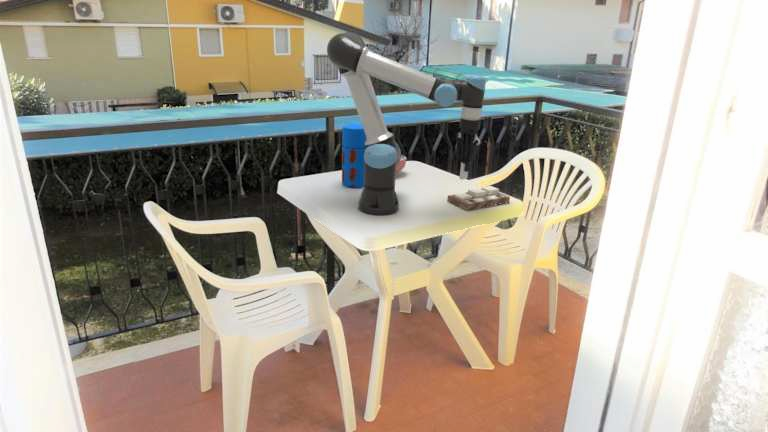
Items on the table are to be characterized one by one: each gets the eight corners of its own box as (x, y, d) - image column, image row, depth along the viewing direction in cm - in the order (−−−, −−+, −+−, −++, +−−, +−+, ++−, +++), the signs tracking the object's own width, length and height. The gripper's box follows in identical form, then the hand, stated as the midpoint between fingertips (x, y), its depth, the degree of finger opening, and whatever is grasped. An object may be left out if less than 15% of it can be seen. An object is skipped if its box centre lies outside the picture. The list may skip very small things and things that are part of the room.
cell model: (410, 178, 238) (412, 154, 234) (368, 180, 233) (368, 155, 229) (399, 168, 253) (400, 145, 249) (358, 170, 248) (359, 146, 244)
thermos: (364, 189, 221) (365, 130, 212) (339, 187, 222) (339, 128, 213) (369, 182, 231) (370, 125, 222) (345, 179, 232) (345, 123, 223)
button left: (461, 204, 205) (462, 198, 204) (453, 200, 209) (454, 194, 208) (471, 202, 208) (472, 196, 207) (463, 198, 212) (464, 192, 211)
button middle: (475, 199, 208) (476, 193, 208) (467, 195, 212) (468, 189, 212) (485, 197, 211) (486, 191, 210) (477, 193, 215) (477, 187, 214)
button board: (466, 211, 201) (467, 204, 200) (447, 201, 210) (447, 194, 209) (509, 202, 212) (510, 196, 211) (488, 194, 221) (489, 187, 220)
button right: (489, 196, 212) (489, 190, 211) (480, 193, 216) (481, 187, 215) (498, 195, 214) (499, 189, 214) (489, 191, 218) (490, 185, 218)
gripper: (490, 121, 194) (481, 182, 202) (467, 114, 204) (460, 173, 212) (474, 122, 190) (466, 184, 198) (452, 115, 200) (445, 175, 209)
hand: (463, 178), depth 205 cm, fingers closed
